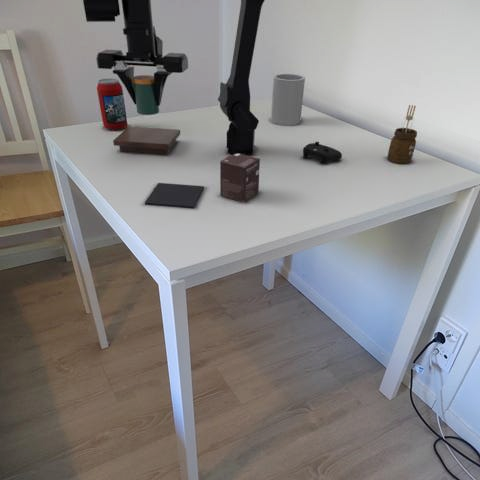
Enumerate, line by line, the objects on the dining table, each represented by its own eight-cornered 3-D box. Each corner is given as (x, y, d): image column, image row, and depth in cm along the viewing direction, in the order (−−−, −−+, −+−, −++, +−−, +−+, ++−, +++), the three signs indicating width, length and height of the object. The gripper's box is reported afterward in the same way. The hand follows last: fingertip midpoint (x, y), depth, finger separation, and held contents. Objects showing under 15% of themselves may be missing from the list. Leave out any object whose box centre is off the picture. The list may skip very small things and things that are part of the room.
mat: (203, 188, 91) (203, 186, 91) (194, 208, 84) (193, 206, 83) (158, 184, 92) (158, 182, 92) (144, 204, 85) (144, 202, 84)
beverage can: (114, 132, 119) (106, 84, 111) (98, 127, 122) (90, 80, 114) (132, 127, 123) (126, 80, 115) (117, 122, 126) (110, 76, 118)
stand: (180, 141, 114) (180, 129, 112) (169, 156, 105) (168, 144, 103) (130, 137, 115) (128, 126, 114) (114, 152, 106) (112, 140, 104)
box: (244, 203, 86) (245, 167, 81) (219, 196, 88) (219, 160, 84) (259, 193, 90) (261, 158, 85) (235, 186, 92) (235, 152, 88)
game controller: (344, 155, 106) (338, 142, 101) (333, 174, 106) (326, 162, 101) (312, 146, 111) (305, 132, 105) (302, 164, 111) (294, 151, 106)
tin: (162, 109, 100) (159, 75, 95) (155, 115, 96) (152, 80, 91) (141, 108, 100) (136, 74, 96) (133, 114, 96) (128, 79, 92)
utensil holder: (386, 162, 106) (398, 110, 98) (387, 154, 110) (399, 103, 102) (410, 165, 104) (425, 113, 97) (411, 157, 109) (425, 106, 101)
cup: (268, 117, 134) (271, 73, 126) (296, 116, 135) (301, 73, 127) (273, 125, 127) (276, 80, 119) (303, 125, 128) (308, 80, 120)
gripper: (192, 19, 92) (195, 98, 102) (109, 15, 94) (121, 94, 104) (178, 25, 83) (184, 111, 94) (88, 21, 85) (103, 105, 95)
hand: (147, 104), depth 97 cm, fingers closed on tin, 5 cm apart
